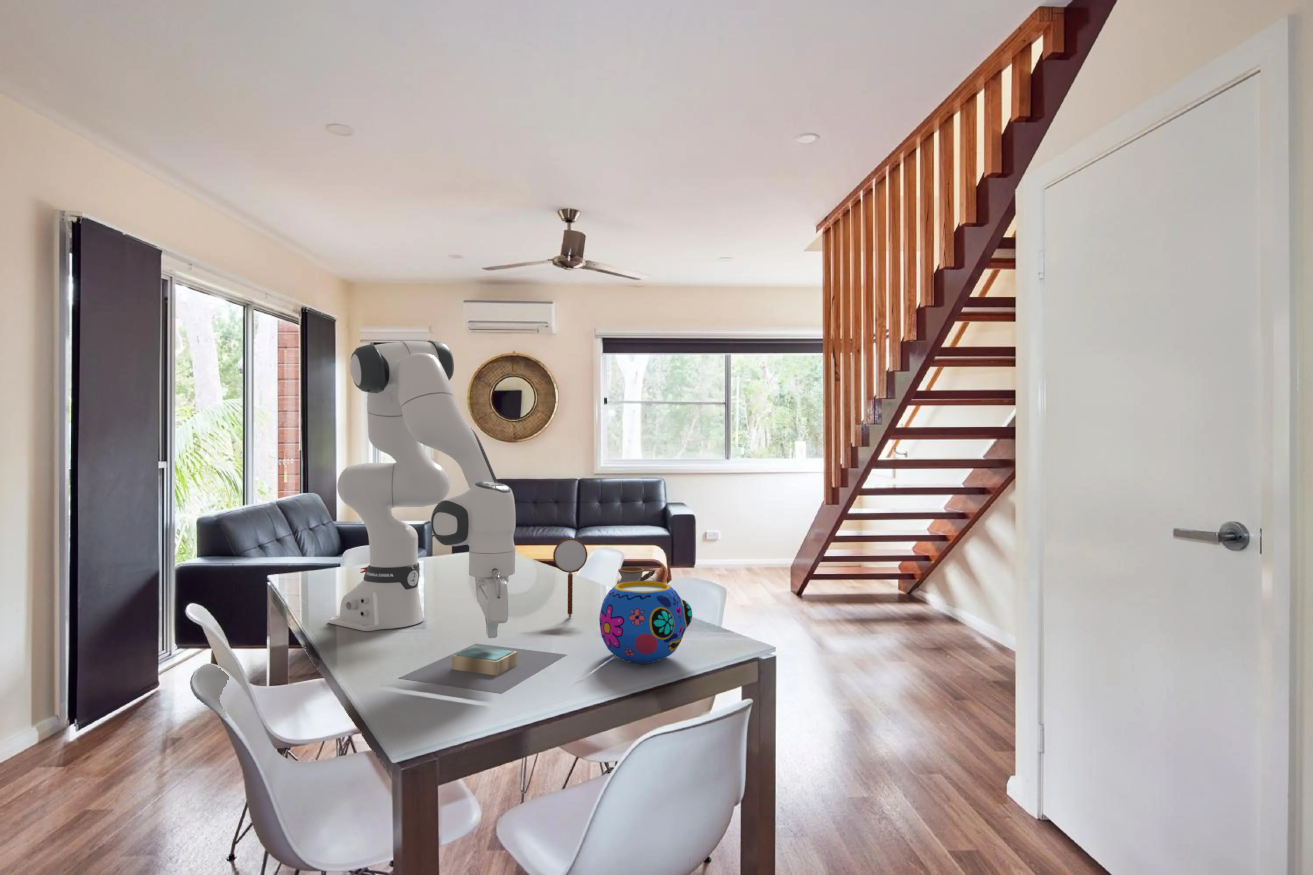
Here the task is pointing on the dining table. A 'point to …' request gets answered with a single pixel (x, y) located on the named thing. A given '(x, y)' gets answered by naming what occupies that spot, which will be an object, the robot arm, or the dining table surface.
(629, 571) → the coffee pot
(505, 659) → the birch tile
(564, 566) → the magnifying glass
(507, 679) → the rubber mat
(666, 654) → the ceramic pot
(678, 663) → the dining table surface
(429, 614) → the dining table surface
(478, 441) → the robot arm
